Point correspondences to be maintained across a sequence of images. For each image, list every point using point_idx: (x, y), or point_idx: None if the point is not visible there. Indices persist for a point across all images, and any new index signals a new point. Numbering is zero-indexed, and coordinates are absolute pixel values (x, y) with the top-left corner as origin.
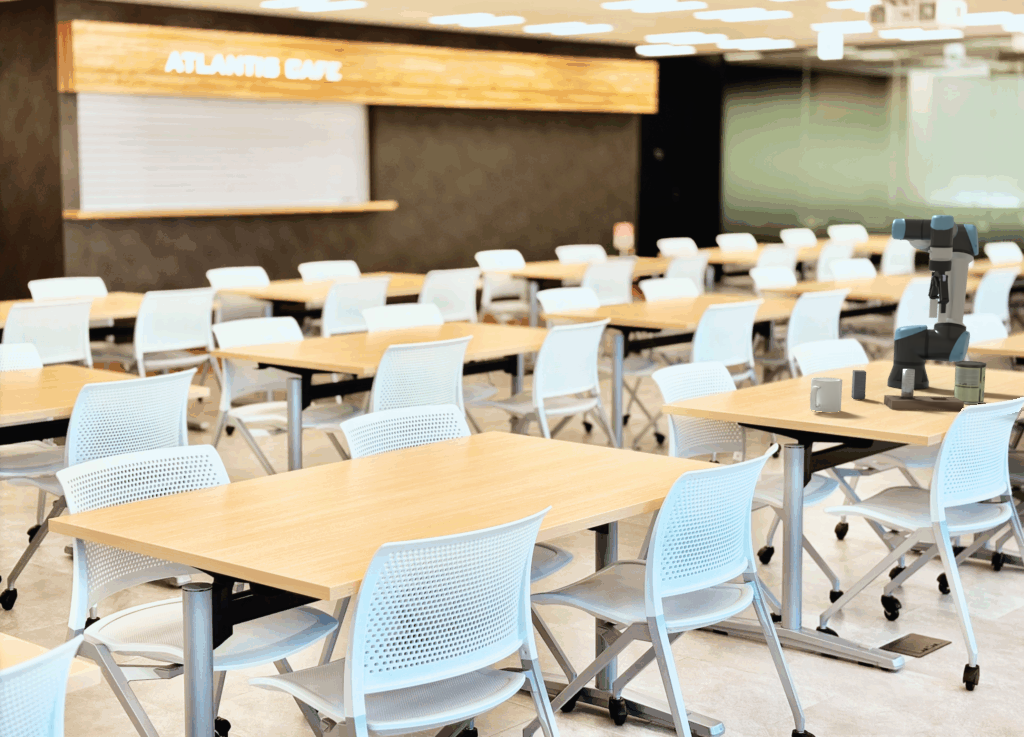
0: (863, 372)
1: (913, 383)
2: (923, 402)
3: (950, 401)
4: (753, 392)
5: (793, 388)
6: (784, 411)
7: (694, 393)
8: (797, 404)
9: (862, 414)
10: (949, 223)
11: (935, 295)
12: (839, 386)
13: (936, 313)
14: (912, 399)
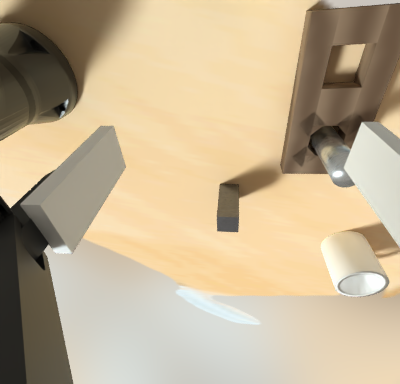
0: (238, 220)
1: (349, 148)
2: (374, 115)
3: (394, 45)
4: (199, 278)
5: (152, 243)
6: None
7: (218, 311)
8: (287, 260)
9: None
10: None
11: (29, 259)
12: (381, 268)
13: (103, 143)
14: (336, 132)
